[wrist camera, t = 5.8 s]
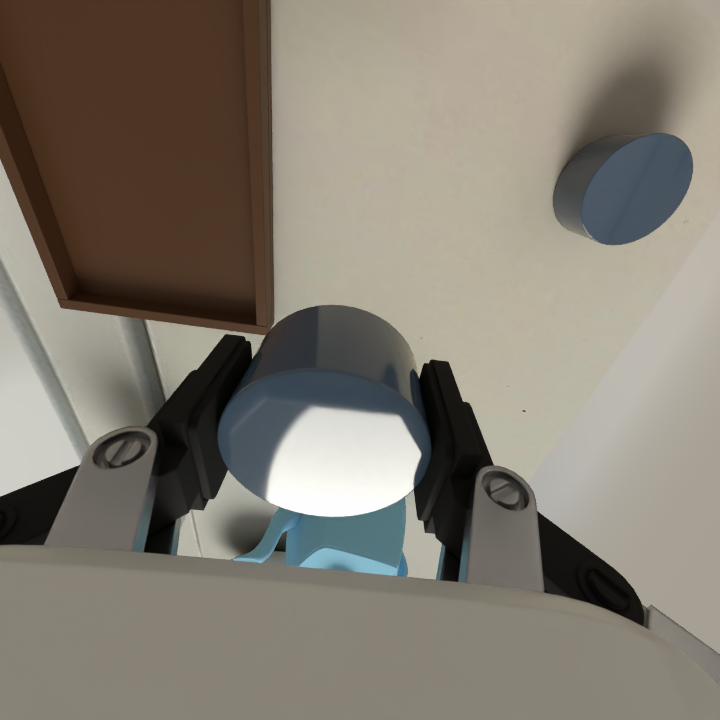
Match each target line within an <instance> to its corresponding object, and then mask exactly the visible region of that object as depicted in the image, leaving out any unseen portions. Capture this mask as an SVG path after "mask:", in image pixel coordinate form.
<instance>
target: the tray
mask: <svg viewBox="0 0 720 720" xmlns="http://www.w3.org/2000/svg"><path fill="white" fill-rule="evenodd" d="M0 159H1V162H2V164H3V166H4V169H5V171H6V174H7V176H8V179H9V181H10V184H11V186H12V189H13V191H14V194H15V196H16V198H17V201H18V203H19V206H20V208H21V211H22V213H23V216H24V218H25V221H26V223H27V226H28V228H29V230H30V233H31V235H32V238H33V240H34V243H35V245H36V248H37V250H38V253H39V255H40V257H41V260H42V262H43V265H44V267H45V270H46V272H47V275H48V277H49V280H50V282H51V285H52V287H53V289H54V292H55V294H56V297H57V298H58V299H57V300H58V302H59V304H60V307H61V308H65V309H72V310H80V311H87V312H95V313H102V314H110V315H117V316H125V317H132V318H140V319H147V320H154V321H162V322H169V323H177V324H184V325H192V326H199V327H207V328H214V329H222V330H229V331H237V332H244V333H252V334H259V335H267V334H268V332H269V331H270V329H271V327H272V325H273V323H274V273H273V185H272V98H271V10H270V0H0Z"/></svg>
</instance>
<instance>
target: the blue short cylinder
mask: <svg viewBox="0 0 720 720" xmlns="http://www.w3.org/2000/svg"><path fill="white" fill-rule="evenodd" d="M217 442H218V448H219V452H220V455H221V457H222V459H223V462H224V464H225V465H226V467H227V468H228V470H229V471H230V473H231V474H232V475H233V476H234V477H235V478H236V480H237V481H238V482H240V483H241V484H242V485H243V486H244V487H245V488H246V489H248V490H249V491H251V492H252V493H253V494H255V495H256V496H258V497H260V498H262V499H263V500H265V501H267V502H269V503H271V504H274V505H276V506H279V507H281V508H284V509H287V510H291V511H294V512H298V513H303V514H307V515H314V516H325V517H345V516H355V515H361V514H366V513H370V512H374V511H377V510H380V509H383V508H385V507H388V506H390V505H392V504H394V503H396V502H398V501H399V500H401V499H403V498H404V497H406V496H407V495H408V494H409V493H411V492H412V491H413V490H414V489H415V488H416V487H417V486H418V485H419V483H420V482H421V481H422V479H423V478H424V475H425V473H426V470H427V468H428V465H429V462H430V459H431V455H432V441H431V434H430V429H429V425H428V420H427V415H426V410H425V405H424V400H423V395H422V391H421V386H420V381H419V376H418V371H417V366H416V362H415V359H414V355H413V353H412V351H411V349H410V347H409V345H408V343H407V342H406V340H405V339H404V338H403V336H402V335H401V334H400V333H399V332H398V331H397V330H396V329H395V328H394V327H393V326H391V325H390V324H389V323H388V322H386V321H385V320H383V319H381V318H380V317H378V316H376V315H374V314H372V313H369V312H367V311H364V310H361V309H358V308H354V307H349V306H342V305H322V306H315V307H310V308H306V309H303V310H300V311H297V312H295V313H293V314H291V315H289V316H287V317H285V318H284V319H282V320H281V321H279V322H278V323H277V324H276V325H275V326H274V327H273V328H272V329H271V330H270V331H269V332H268V334H267V335H266V336H265V338H264V340H263V341H262V343H261V345H260V347H259V348H258V350H257V352H256V354H255V355H254V357H253V359H252V361H251V362H250V364H249V366H248V368H247V369H246V371H245V373H244V375H243V376H242V378H241V380H240V382H239V383H238V385H237V387H236V389H235V390H234V392H233V394H232V396H231V397H230V399H229V401H228V403H227V404H226V406H225V408H224V410H223V412H222V413H221V416H220V419H219V422H218V428H217Z"/></svg>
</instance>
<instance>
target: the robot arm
mask: <svg viewBox="0 0 720 720" xmlns="http://www.w3.org/2000/svg"><path fill="white" fill-rule="evenodd" d="M251 361H252V350H251V343H250V341H246V339H245V337H244V336H237V335H229V334H226V335H224V337H223V338H222V339H221V340H220V342H219V343H218V344H217V345H216V347H215V348H214V349H213V351H212V352H211V353H210V354H209V356H208V357H207V358H206V359H205V361H204V362H203V363H202V364H201V366H200V367H199V368H198V369H197V370H194V371H192V372H191V373H189V375H188V376H187V377H186V378H185V379H184V381H183V382H182V383H181V384H180V386H179V387H178V388H177V389H176V391H175V392H174V393H173V394H172V395H171V397H170V398H169V399H168V400H167V402H166V403H165V404H164V405H163V407H162V408H161V409H160V410H159V411H158V413H157V414H156V415H155V416H154V418H153V419H152V420H151V421H150V423H149V424H148V425H147V426H146V427H142V426H129V427H124V428H120V429H117V430H114V431H112V432H109V433H107V434H105V435H104V436H102V437H100V438H99V439H97V440H96V441H95V442H94V443H93V444H92V445H91V446H90V447H89V448H88V450H87V451H86V453H85V455H84V457H83V459H82V462H81V464H80V465H79V466H76V467H74V468H71V469H69V470H66V471H64V472H61V473H59V474H56V475H54V476H51V477H48V478H46V479H43V480H41V481H38V482H36V483H34V484H31V485H28V486H26V487H23V488H21V489H18V490H16V491H13V492H11V493H9V494H6V495H3V496H1V497H0V720H720V654H719V653H717V652H716V651H714V650H713V649H712V648H710V647H709V646H707V645H706V644H705V643H703V642H702V641H701V640H699V639H698V638H696V637H695V636H694V635H692V634H691V633H689V632H688V631H687V630H685V629H684V628H683V627H681V626H679V625H678V624H677V623H676V622H674V621H673V620H671V619H670V618H669V617H667V616H666V615H665V614H663V613H662V612H660V611H659V610H658V609H656V608H655V607H653V606H652V605H650V606H649V607H647V608H646V607H644V606H643V605H642V604H641V601H640V599H639V597H638V596H637V594H636V592H635V591H634V589H633V588H632V587H631V585H630V584H629V583H628V582H627V581H626V579H625V578H624V577H623V576H622V575H621V574H620V573H618V572H617V571H616V570H615V569H614V568H613V567H611V566H610V565H609V564H607V563H606V562H605V561H603V560H602V559H601V558H599V557H598V556H597V555H595V554H594V553H593V552H591V551H590V550H589V549H587V548H586V547H585V546H583V545H582V544H580V543H579V542H578V541H576V540H575V539H574V538H572V537H571V536H570V535H568V534H567V533H566V532H564V531H563V530H562V529H560V528H559V527H558V526H556V525H555V524H554V523H552V522H551V521H549V520H548V519H547V518H546V517H544V516H543V515H541V514H540V513H539V512H538V511H537V506H536V499H535V496H534V493H533V491H532V489H531V488H530V486H529V485H528V483H527V482H526V481H525V480H524V479H523V478H522V477H520V476H519V475H518V474H516V473H515V472H513V471H511V470H509V469H507V468H504V467H500V466H494V465H493V462H492V459H491V457H490V454H489V452H488V449H487V446H486V444H485V441H484V439H483V436H482V433H481V431H480V428H479V426H478V423H477V420H476V418H475V415H474V413H473V410H472V407H471V406H470V404H469V403H468V402H463V401H462V398H461V395H460V392H459V390H458V387H457V384H456V381H455V378H454V376H453V373H452V370H451V367H450V365H449V362H446V361H438V360H430V362H429V364H428V363H424V365H423V368H422V371H421V375H420V378H419V381H420V386H421V391H422V395H423V400H424V405H425V410H426V415H427V420H428V425H429V429H430V434H431V441H432V455H431V459H430V462H429V465H428V468H427V470H426V473H425V475H424V478H423V479H422V481H421V482H420V483H419V485H418V486H417V487H416V488H415V489H414V495H415V503H416V511H417V518H418V520H421V521H423V522H424V529H425V533H433V534H435V535H436V538H437V539H438V540H439V541H440V542H441V543H442V547H441V553H440V559H439V565H438V571H437V577H436V580H432V579H422V578H412V577H402V576H392V575H382V574H372V573H362V572H351V571H341V570H330V569H320V568H309V567H299V566H288V565H277V564H267V563H256V562H245V561H234V560H223V559H212V558H201V557H190V556H178V555H177V548H178V541H179V533H180V526H181V517H182V516H184V515H186V514H187V513H189V511H190V509H194V510H204V508H205V506H206V504H207V502H208V500H209V499H214V498H215V497H216V495H217V493H218V491H219V489H220V487H221V484H222V482H223V480H224V478H225V475H226V473H227V471H228V468H227V467H226V465H225V464H224V462H223V459H222V457H221V455H220V452H219V448H218V442H217V428H218V422H219V419H220V416H221V413H222V412H223V410H224V408H225V406H226V404H227V403H228V401H229V399H230V397H231V396H232V394H233V392H234V390H235V389H236V387H237V385H238V383H239V382H240V380H241V378H242V376H243V375H244V373H245V371H246V369H247V368H248V366H249V364H250V362H251Z"/></svg>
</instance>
